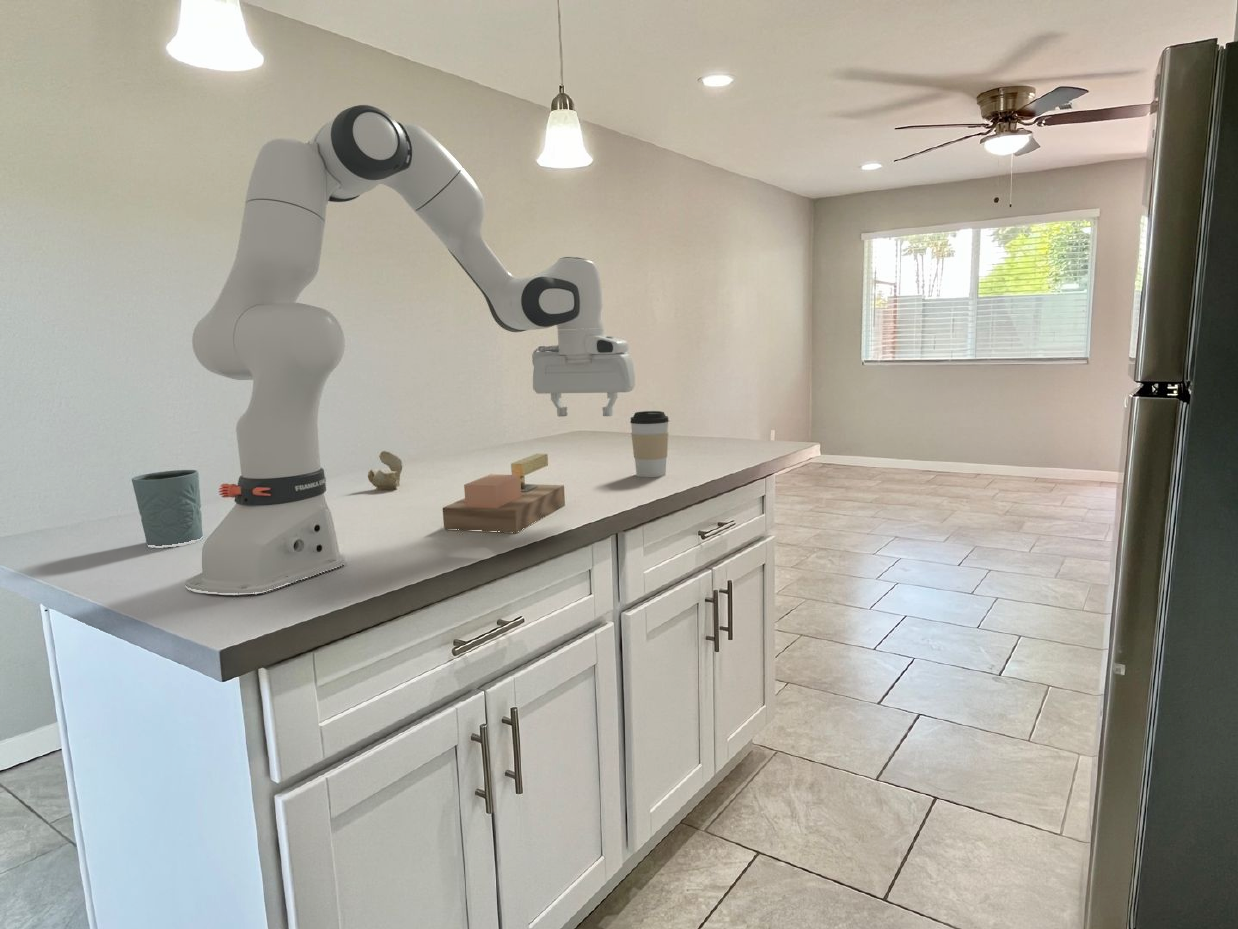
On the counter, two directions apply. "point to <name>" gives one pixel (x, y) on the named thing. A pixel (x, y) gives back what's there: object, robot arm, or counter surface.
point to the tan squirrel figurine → (387, 472)
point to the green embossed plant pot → (169, 506)
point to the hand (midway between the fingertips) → (584, 416)
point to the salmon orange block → (492, 491)
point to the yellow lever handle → (529, 466)
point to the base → (507, 511)
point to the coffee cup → (650, 443)
